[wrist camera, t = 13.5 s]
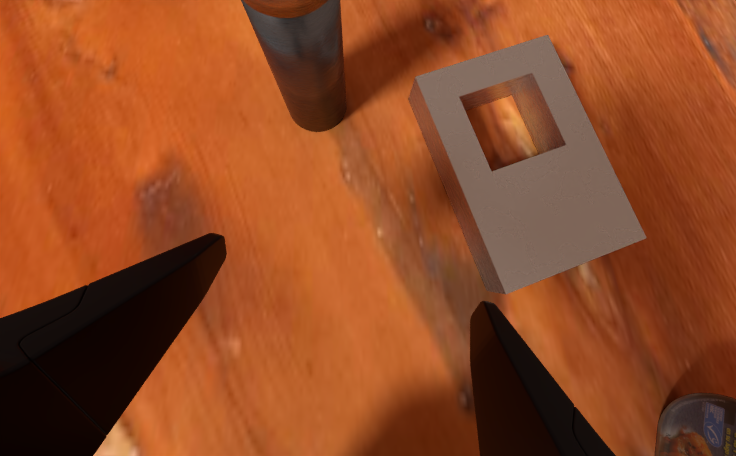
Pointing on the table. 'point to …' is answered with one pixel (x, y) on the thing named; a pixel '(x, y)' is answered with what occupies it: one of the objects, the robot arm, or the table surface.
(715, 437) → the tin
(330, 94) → the end plug
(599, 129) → the table surface
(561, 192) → the housing block
